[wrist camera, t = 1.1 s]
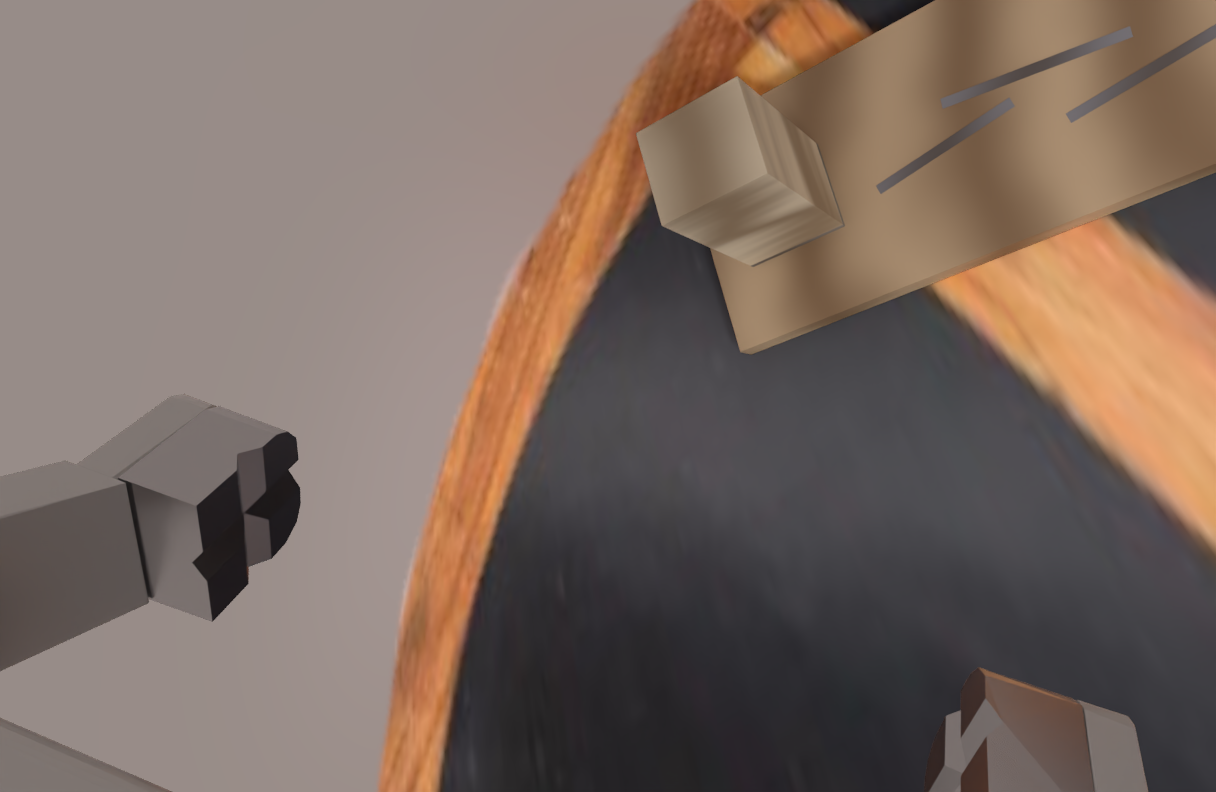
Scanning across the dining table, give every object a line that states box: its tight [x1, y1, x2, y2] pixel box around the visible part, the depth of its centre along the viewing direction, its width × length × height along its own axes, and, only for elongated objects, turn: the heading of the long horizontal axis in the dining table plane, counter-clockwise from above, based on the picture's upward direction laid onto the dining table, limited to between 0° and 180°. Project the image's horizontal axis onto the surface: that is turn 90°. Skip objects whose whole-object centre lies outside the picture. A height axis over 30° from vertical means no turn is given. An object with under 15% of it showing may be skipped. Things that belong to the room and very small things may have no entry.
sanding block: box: [636, 76, 845, 267], centre depth 38 cm, size 4×4×8 cm
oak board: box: [710, 0, 1216, 355], centre depth 38 cm, size 26×11×1 cm, turn 107°
